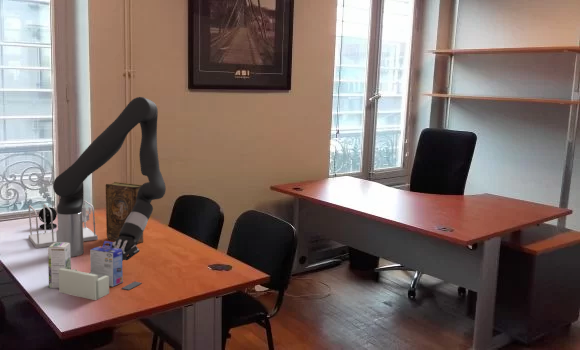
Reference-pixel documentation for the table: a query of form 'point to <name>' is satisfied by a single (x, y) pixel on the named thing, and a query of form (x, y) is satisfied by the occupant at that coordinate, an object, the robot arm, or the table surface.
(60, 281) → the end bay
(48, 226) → the webcam
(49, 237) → the file sorter
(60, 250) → the syrup box
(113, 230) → the book
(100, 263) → the ink cartridge box
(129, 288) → the pad
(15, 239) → the table surface
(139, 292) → the table surface
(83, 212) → the architectural model
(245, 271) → the table surface
